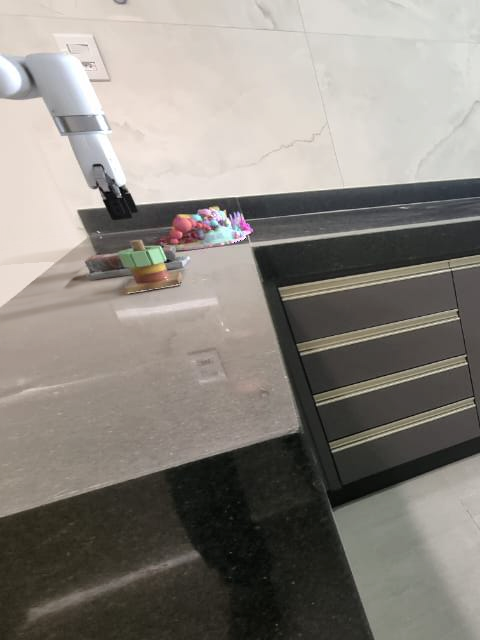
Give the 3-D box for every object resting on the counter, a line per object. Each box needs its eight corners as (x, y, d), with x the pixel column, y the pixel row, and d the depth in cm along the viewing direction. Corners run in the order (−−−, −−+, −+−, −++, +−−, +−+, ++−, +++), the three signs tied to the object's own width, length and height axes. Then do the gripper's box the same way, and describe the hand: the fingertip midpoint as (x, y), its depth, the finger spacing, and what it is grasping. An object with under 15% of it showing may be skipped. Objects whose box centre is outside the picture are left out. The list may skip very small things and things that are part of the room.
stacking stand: (126, 295, 111) (103, 247, 106) (132, 285, 117) (110, 240, 113) (180, 286, 115) (160, 240, 111) (182, 277, 122) (164, 233, 118)
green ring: (122, 269, 110) (115, 255, 108) (126, 263, 115) (120, 249, 114) (165, 263, 113) (158, 249, 112) (167, 257, 118) (161, 244, 117)
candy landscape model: (147, 244, 158) (133, 213, 154) (236, 229, 175) (225, 200, 171) (177, 253, 145) (163, 219, 141) (270, 236, 162) (259, 205, 158)
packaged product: (77, 261, 120) (91, 252, 128) (88, 281, 122) (101, 272, 130) (176, 248, 128) (183, 241, 136) (184, 268, 130) (191, 259, 138)
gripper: (67, 128, 107) (109, 213, 114) (46, 128, 94) (94, 224, 102) (115, 125, 111) (153, 208, 118) (102, 125, 98) (144, 218, 105)
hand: (126, 216), depth 110 cm, fingers open, 9 cm apart
